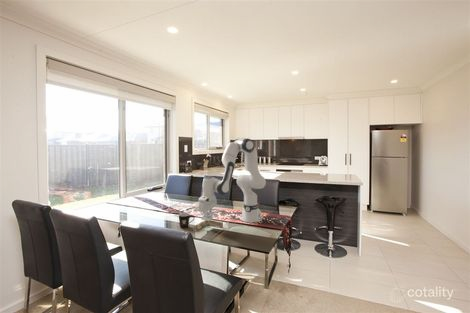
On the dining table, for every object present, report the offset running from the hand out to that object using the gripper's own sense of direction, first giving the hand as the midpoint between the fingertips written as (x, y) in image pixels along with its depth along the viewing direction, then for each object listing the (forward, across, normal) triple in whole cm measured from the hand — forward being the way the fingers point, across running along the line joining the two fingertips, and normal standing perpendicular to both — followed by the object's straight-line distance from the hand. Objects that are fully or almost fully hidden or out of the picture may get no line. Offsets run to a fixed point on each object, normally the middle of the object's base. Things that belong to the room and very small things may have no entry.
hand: (208, 214), depth 183 cm
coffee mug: (+11, +6, -17) cm, 21 cm away
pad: (+11, +1, 0) cm, 11 cm away
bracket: (+3, +2, 0) cm, 3 cm away
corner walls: (+11, +1, +1) cm, 11 cm away
